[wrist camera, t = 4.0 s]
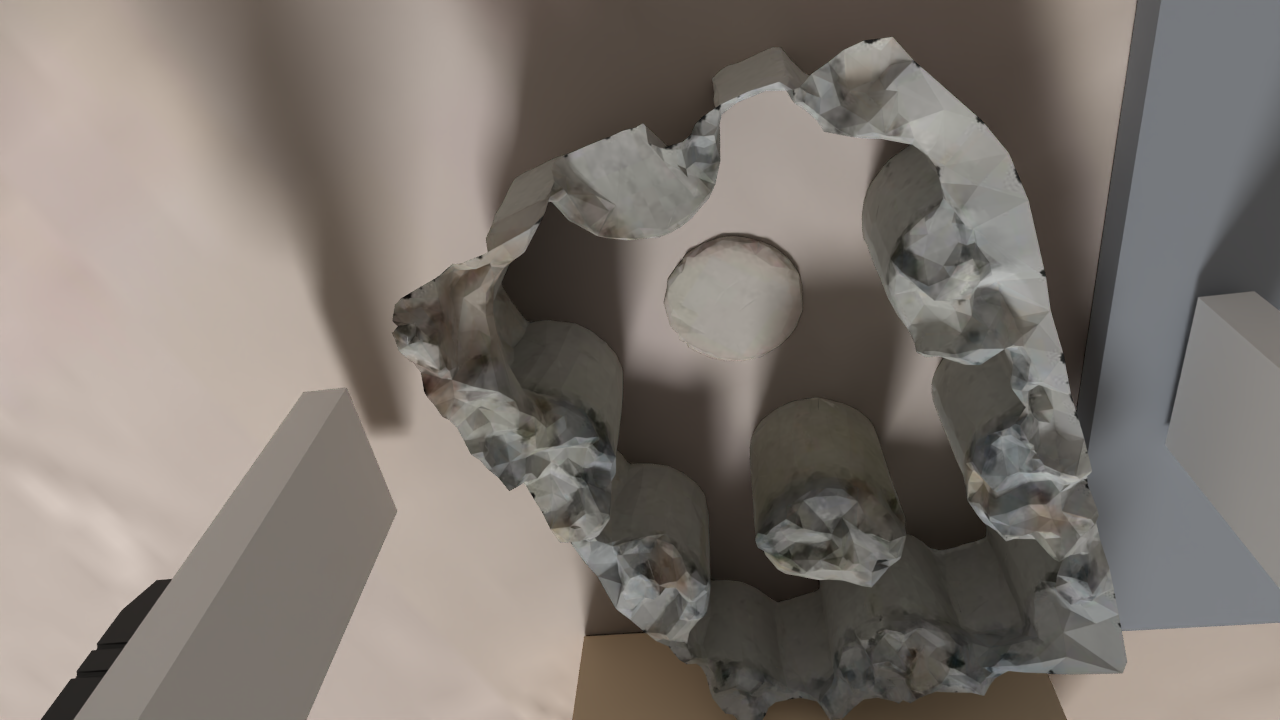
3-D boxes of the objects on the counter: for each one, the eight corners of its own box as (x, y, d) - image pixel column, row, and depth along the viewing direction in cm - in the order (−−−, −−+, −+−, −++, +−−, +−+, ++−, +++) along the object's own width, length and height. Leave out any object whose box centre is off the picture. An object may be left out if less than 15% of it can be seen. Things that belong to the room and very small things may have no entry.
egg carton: (434, 180, 13) (335, 302, 9) (914, -37, 11) (1014, 14, 7) (696, 620, 18) (695, 808, 14) (1061, 526, 16) (1164, 717, 12)
